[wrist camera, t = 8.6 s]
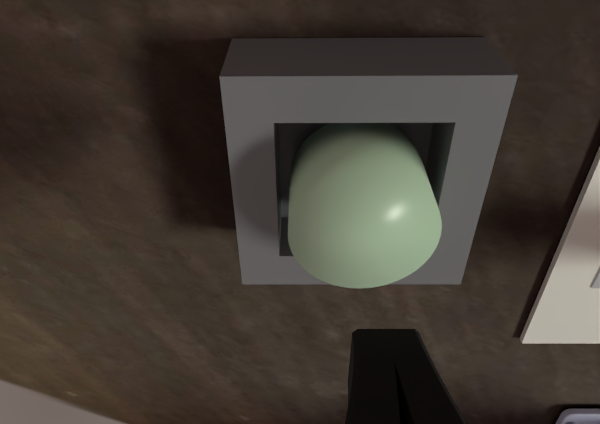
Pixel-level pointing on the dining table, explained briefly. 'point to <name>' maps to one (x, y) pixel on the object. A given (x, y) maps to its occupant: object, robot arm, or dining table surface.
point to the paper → (572, 277)
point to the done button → (361, 206)
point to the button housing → (361, 109)
